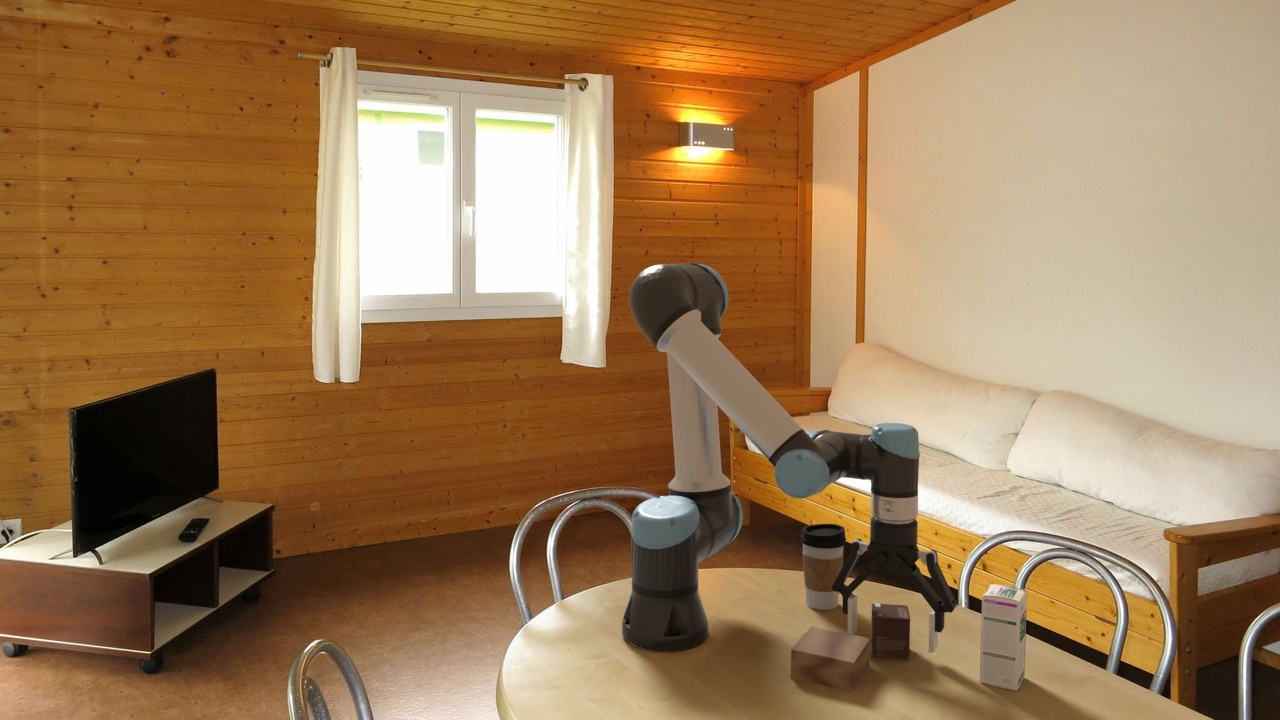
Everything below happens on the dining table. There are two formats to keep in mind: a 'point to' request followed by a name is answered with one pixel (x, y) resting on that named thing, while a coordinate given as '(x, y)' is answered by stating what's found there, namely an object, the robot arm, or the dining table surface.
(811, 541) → the coffee cup
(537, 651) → the dining table surface
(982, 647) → the syrup box
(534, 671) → the dining table surface
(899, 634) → the box
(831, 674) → the walnut block
